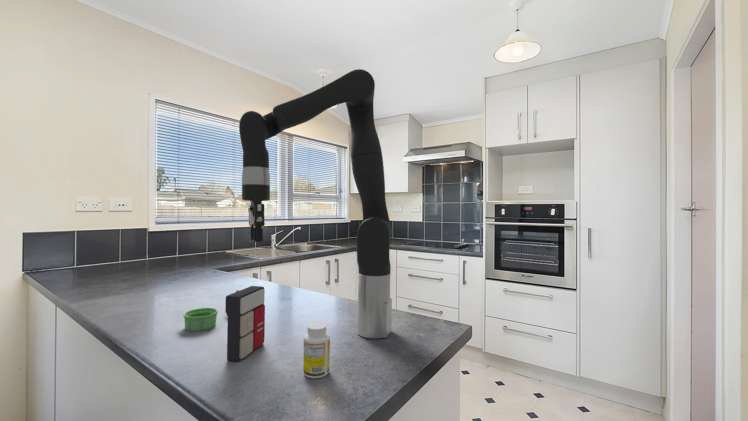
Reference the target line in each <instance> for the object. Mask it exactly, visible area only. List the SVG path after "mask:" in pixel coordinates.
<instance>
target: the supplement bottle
mask: <svg viewBox="0 0 748 421" xmlns="http://www.w3.org/2000/svg"><path fill="white" fill-rule="evenodd" d="M330 336H331V335H330V334H329V332H327V324H325V323H322V322H313V323H310V324H308V325H307V333H306V334H304V336H303V374H304V376H306V377H307V378H308V379H309V378H310V379H320V378H324V377H325V376H327V375H328V374H329V372H330V368H331V367H330V361H331V360H330V354H331V352H330V349H331V337H330Z"/></svg>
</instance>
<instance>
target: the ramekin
mask: <svg viewBox="0 0 748 421" xmlns="http://www.w3.org/2000/svg"><path fill="white" fill-rule="evenodd" d="M217 315H218V309H217V308H213V307H200V308H195V309H191V310H188V311H185V312H184V313H183V318H184V329H185V330H186V331H189V332H201V331H207V330H210V329H213V328H214V327H215V326H216V324H217Z"/></svg>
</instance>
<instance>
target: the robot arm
mask: <svg viewBox="0 0 748 421" xmlns="http://www.w3.org/2000/svg"><path fill="white" fill-rule="evenodd" d="M374 98H375V78H374V77H373V75H372V74H371V73H370V72H369V71H367V70H364V69H360V68H358V69H354V70H351V71H348V72H347V73H345V74H344V75H341V76H340V77H338V78H336V79H335V80H333V81H331V82H329V83H327V84H325V85H323V86H322V87H319V88H318V89H317V88H316V89H314V90H313V91H311V92H308V93H306V94H304V95H301V96H299V97H296V98H293V99H290V100H287V101H284V102H282V103H279V104H277V105H275V106H273V108H272V110H271V111H270V112H268V113H266V114H264V115H262V114H261V113H259V112H258V111H256V110H248V111H245V113H243V114H242V115H241V117H240V120H239V125H238V129H239V137H240V143H241V149H242V172H241V173H242V174H241V199H242V201H247V202H248V201H249V202H250V204H249V206H248V207H247V208H248V209H247V211H248V212H247V213H248V225H249V227H250V228H249V229H250V231H249V232H250V240H251V241H253V242H254V243H261V242H263V241H264V240H263V238H264V236H263V233H264V232H263V230H264V229H263V228H264V227H265V225H266V222H265V203H263V202H267V201H268V202H269V201H270V200H271V177H270V174H271V173H270V159H269V158H270V156H269V155H270V154H269V150H268V149H267V146H266V140H269V139H271V138H273V137H275V136H277V135H279V134H280V133H282V132H284V131H285V130H288V129H291V128H293V127H296V126H299V125H302V124H304V123H306V122H309V121H311V120H313V119H314V118H316V117H317V116H319V115H321V114H322V113H323V112H326V111H327V110H328V109H331V108H333V107H335V106H337V105H340V104H345V106H346V110H347V115H348V120H349V124H350V126H349V128H350V137H349V138H350V139H349V141H350V144H349V146H350V147H349V148H350V161H351V169H352V175H353V179H354V183H355V186H356V188H357V191H358V195H359V197H360V201H361V208H362V222H361V223H360V224H359V225H358V229H357V232H356V262H357V266H358V269H357V270H358V272H357V273H358V275H357V276H358V279H357V282H358V285H357V335H359V336H361V337H362V338H366V339H375V340H376V339H388V336H390V334H391V332H392V324H393V323H392V322H393V321H392V317H393V316H392V315H393V314H392V312H393V310H392V308H393V299H392V298H391V260H390V241H391V240H392V236H393V229H392V225H391V224H392V223H391V221H390V217H389V212H388V208H387V207H388V206H387V202H386V184H385V168H384V160H383V152H382V147H381V142H380V138H379V135H378V133H377V129H376V125H375V117H374V113H375V112H374Z"/></svg>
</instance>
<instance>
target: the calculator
mask: <svg viewBox="0 0 748 421" xmlns="http://www.w3.org/2000/svg"><path fill="white" fill-rule="evenodd" d="M236 291H237V290H236ZM236 291H235V292H233V293H232V292H231V293H230V294H228V295H226V296H225V309H224V310H225V313H226V317H227V326H226V327H227V332H226V334H227V336H226V337H227V342H226V345H227V347H226V360H227V361H230V362H238V363H239V362H241V360H244V358H246V357H247V356H248V355H250V354H251V353H252V352H253V351H255V350H256V349H258V348H259V347H260V346H262V345H263V344H264V343H265V333H266V332H265V330H266V329H265V328H266V326H265V324H266V322H265V319H266V317H265V316H266V305H265V295H266V294H265V292H266V291H265V287H264V286H257V285H250V286H248V287H245V288H242V289H239V291H237V292H236Z"/></svg>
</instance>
